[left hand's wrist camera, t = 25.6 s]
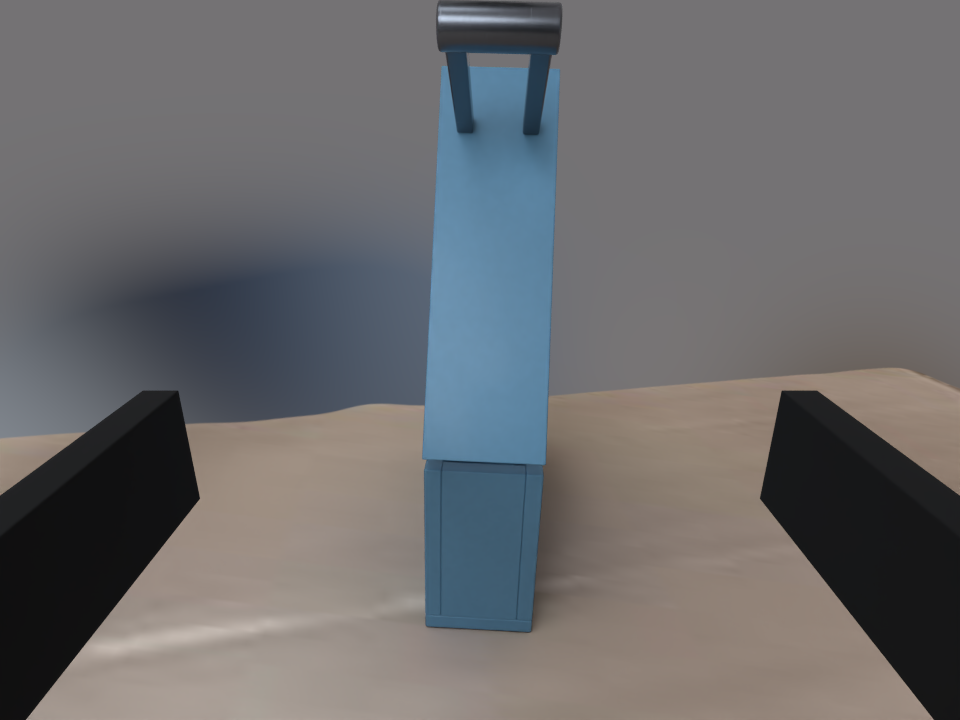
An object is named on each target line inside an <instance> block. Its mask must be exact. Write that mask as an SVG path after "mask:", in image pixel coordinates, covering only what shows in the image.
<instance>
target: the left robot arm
mask: <svg viewBox="0 0 960 720" xmlns="http://www.w3.org/2000/svg"><path fill="white" fill-rule="evenodd" d="M199 499H200V496H199V491H198V486H197V481H196V476H195V472H194V467H193V462H192V457H191V452H190V447H189V442H188V437H187V432H186V427H185V422H184V417H183V412H182V407H181V402H180V397H179V392H178V391H142V392H141V393H139V394H138V395H136V396H135V397H134V398H132V399H131V400H130V401H128V402H127V403H126V404H124V405H123V406H122V407H120V408H119V409H117V410H116V411H115V412H113V413H112V414H111V415H109V416H108V417H107V418H105V419H104V420H102V421H101V422H100V423H98V424H97V425H96V426H94V427H93V428H92V429H90V430H89V431H88V432H86V433H85V434H83V435H82V436H81V437H79V438H78V439H77V440H75V441H74V442H73V443H71V444H70V445H69V446H67V447H66V448H64V449H63V450H62V451H60V452H59V453H58V454H56V455H55V456H54V457H52V458H51V459H49V460H48V461H47V462H45V463H44V464H43V465H41V466H40V467H39V468H37V469H36V470H35V471H33V472H32V473H30V474H29V475H28V476H26V477H25V478H24V479H22V480H21V481H20V482H18V483H17V484H15V485H14V486H13V487H11V488H10V489H9V490H7V491H6V492H5V493H3V494H2V495H1V496H0V720H26V719H27V718H28V716H29V715H30V714H31V713H32V711H33V710H34V709H35V708H36V706H37V705H38V704H39V702H40V701H41V700H42V699H43V697H44V696H45V695H46V694H47V692H48V691H49V690H50V688H51V687H52V686H53V685H54V683H55V682H56V681H57V680H58V678H59V677H60V676H61V674H62V673H63V672H64V671H65V669H66V668H67V667H68V666H69V664H70V663H71V662H72V661H73V659H74V658H75V657H76V655H77V654H78V653H79V652H80V650H81V649H82V648H83V647H84V645H85V644H86V643H87V641H88V640H89V639H90V638H91V636H92V635H93V634H94V633H95V631H96V630H97V629H98V627H99V626H100V625H101V624H102V622H103V621H104V620H105V619H106V617H107V616H108V615H109V614H110V612H111V611H112V610H113V608H114V607H115V606H116V605H117V603H118V602H119V601H120V600H121V598H122V597H123V596H124V594H125V593H126V592H127V591H128V589H129V588H130V587H131V586H132V584H133V583H134V582H135V580H136V579H137V578H138V577H139V575H140V574H141V573H142V572H143V570H144V569H145V568H146V567H147V565H148V564H149V563H150V561H151V560H152V559H153V558H154V556H155V555H156V554H157V553H158V551H159V550H160V549H161V547H162V546H163V545H164V544H165V542H166V541H167V540H168V539H169V537H170V536H171V535H172V533H173V532H174V531H175V530H176V528H177V527H178V526H179V525H180V523H181V522H182V521H183V519H184V518H185V517H186V516H187V514H188V513H189V512H190V511H191V509H192V508H193V507H194V506H195V504H196V503H197V502H198V500H199ZM760 499H761V500H762V502H763V503H764V504H765V506H766V507H767V508H768V509H769V511H770V512H771V513H772V514H773V516H774V517H775V518H776V519H777V521H778V522H779V523H780V525H781V526H782V527H783V528H784V530H785V531H786V532H787V533H788V535H789V536H790V537H791V539H792V540H793V541H794V542H795V544H796V545H797V546H798V547H799V549H800V550H801V551H802V553H803V554H804V555H805V556H806V558H807V559H808V560H809V561H810V563H811V564H812V565H813V567H814V568H815V569H816V570H817V572H818V573H819V574H820V575H821V577H822V578H823V579H824V580H825V582H826V583H827V584H828V586H829V587H830V588H831V589H832V591H833V592H834V593H835V594H836V596H837V597H838V598H839V600H840V601H841V602H842V603H843V605H844V606H845V607H846V608H847V610H848V611H849V612H850V614H851V615H852V616H853V617H854V619H855V620H856V621H857V622H858V624H859V625H860V626H861V627H862V629H863V630H864V631H865V633H866V634H867V635H868V636H869V638H870V639H871V640H872V641H873V643H874V644H875V645H876V647H877V648H878V649H879V650H880V652H881V653H882V654H883V655H884V657H885V658H886V659H887V661H888V662H889V663H890V664H891V666H892V667H893V668H894V669H895V671H896V672H897V673H898V674H899V676H900V677H901V678H902V680H903V681H904V682H905V683H906V685H907V686H908V687H909V688H910V690H911V691H912V692H913V694H914V695H915V696H916V697H917V699H918V700H919V701H920V702H921V704H922V705H923V706H924V708H925V709H926V710H927V711H928V713H929V714H930V715H931V716H932V718H933V719H934V720H960V496H959V495H958V494H957V493H955V492H954V491H953V490H951V489H950V488H949V487H947V486H946V485H945V484H943V483H942V482H940V481H939V480H938V479H936V478H935V477H934V476H932V475H931V474H930V473H928V472H927V471H925V470H924V469H923V468H921V467H920V466H919V465H917V464H916V463H915V462H913V461H912V460H911V459H909V458H908V457H906V456H905V455H904V454H902V453H901V452H900V451H898V450H897V449H896V448H894V447H893V446H891V445H890V444H889V443H887V442H886V441H885V440H883V439H882V438H881V437H879V436H878V435H877V434H875V433H874V432H872V431H871V430H870V429H868V428H867V427H866V426H864V425H863V424H862V423H860V422H859V421H858V420H856V419H855V418H853V417H852V416H851V415H849V414H848V413H847V412H845V411H844V410H843V409H841V408H840V407H838V406H837V405H836V404H834V403H833V402H832V401H830V400H829V399H828V398H826V397H825V396H824V395H822V394H821V393H819V392H818V391H782V392H781V397H780V402H779V407H778V412H777V417H776V422H775V427H774V432H773V437H772V442H771V447H770V452H769V457H768V462H767V467H766V472H765V476H764V481H763V486H762V491H761V496H760Z"/></svg>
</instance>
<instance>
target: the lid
mask: <svg viewBox="0 0 960 720" xmlns="http://www.w3.org/2000/svg"><path fill="white" fill-rule="evenodd" d="M561 29H562V4H561V3H559V2H519V1H476V0H475V1H474V0H439V1H438V4H437V12H436V35H437V45H438V49H439V51H440V52H445V53H446V60H447V66H442V71H441V91H440V111H439V131H438V152H437V172H436V192H435V212H434V232H433V253H432V273H431V293H430V314H429V333H428V353H427V374H426V394H425V414H424V434H423V454H422V459H425V460H446V461H467V462H488V463H509V464H530V465H546V446H547V418H548V390H549V362H550V335H551V306H552V279H553V251H554V224H555V196H556V169H557V141H558V113H559V86H560V69H550V64H551V58H552V55H556V54H558V52H559V47H560V39H561ZM469 53H498V54H530V56H529V66H528V68H501V67H470V64H469Z"/></svg>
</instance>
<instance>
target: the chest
mask: <svg viewBox="0 0 960 720" xmlns="http://www.w3.org/2000/svg"><path fill="white" fill-rule="evenodd" d="M543 478H544V475H543V466H542V465H530V464H509V463H488V462H467V461H446V460H427V461H426V465H425V469H424V512H425V613H426V626H430V627H448V628H466V629H484V630H502V631H519V632H530V631H531V627H532V615H533V602H534V590H535V577H536V565H537V552H538V540H539V527H540V515H541V503H542V490H543Z"/></svg>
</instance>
